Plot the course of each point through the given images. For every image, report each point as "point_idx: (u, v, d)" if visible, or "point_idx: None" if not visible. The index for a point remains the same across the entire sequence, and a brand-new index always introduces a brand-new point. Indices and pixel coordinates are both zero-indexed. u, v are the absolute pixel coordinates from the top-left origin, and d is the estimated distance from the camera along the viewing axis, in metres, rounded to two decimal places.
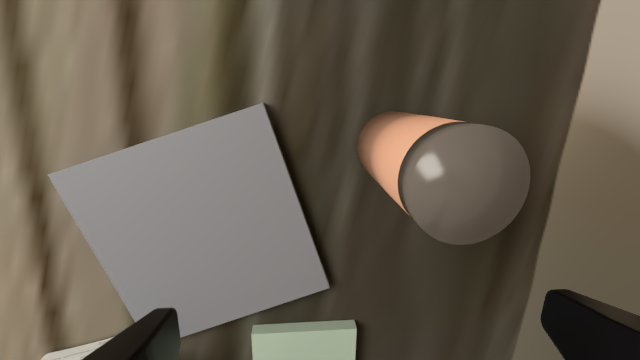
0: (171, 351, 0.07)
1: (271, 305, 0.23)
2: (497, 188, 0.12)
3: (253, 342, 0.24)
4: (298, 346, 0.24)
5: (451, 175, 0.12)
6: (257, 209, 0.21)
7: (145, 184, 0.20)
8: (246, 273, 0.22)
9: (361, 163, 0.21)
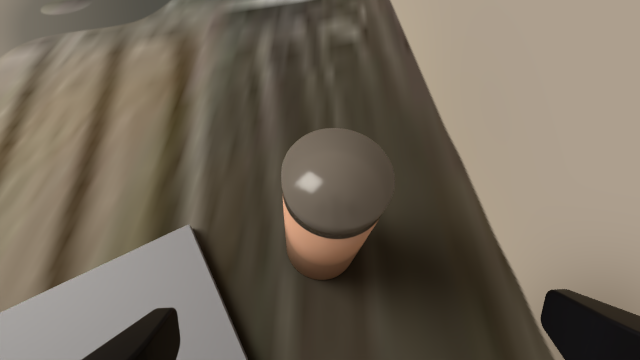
0: (171, 351, 0.07)
1: None
2: (363, 170, 0.13)
3: None
4: None
5: (316, 166, 0.13)
6: (180, 340, 0.18)
7: (49, 333, 0.17)
8: None
9: (293, 264, 0.21)
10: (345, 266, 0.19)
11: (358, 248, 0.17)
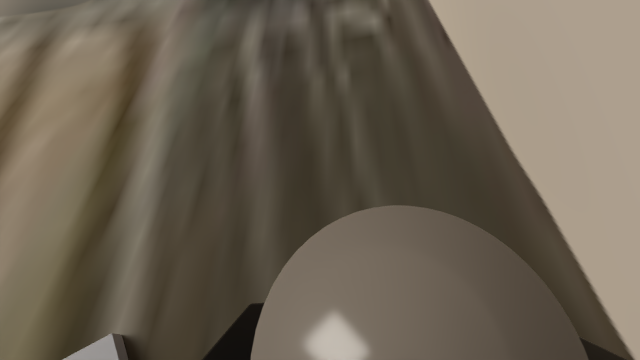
0: None
1: None
2: (496, 346, 0.04)
3: None
4: None
5: (358, 337, 0.04)
6: None
7: None
8: None
9: None
10: None
11: None
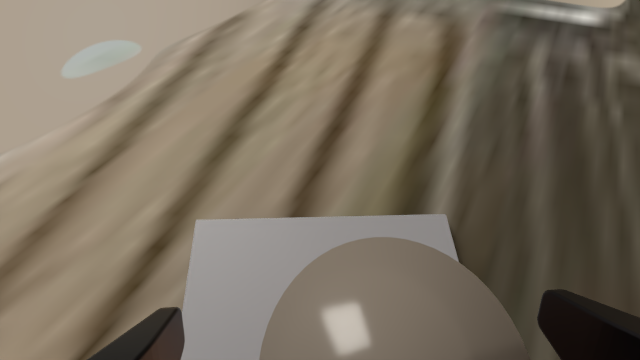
0: (176, 351, 0.07)
1: None
2: (458, 358, 0.06)
3: None
4: None
5: (345, 350, 0.05)
6: None
7: (293, 262, 0.16)
8: None
9: None
10: None
11: None
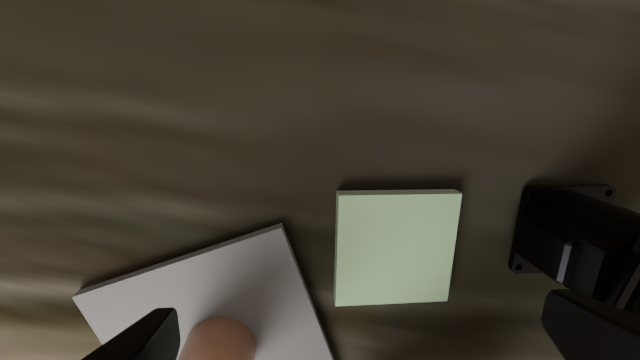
0: (171, 351, 0.07)
1: (301, 286, 0.21)
2: None
3: (345, 304, 0.22)
4: (357, 259, 0.21)
5: None
6: (186, 300, 0.21)
7: None
8: (261, 309, 0.21)
9: None
10: (237, 346, 0.20)
11: None
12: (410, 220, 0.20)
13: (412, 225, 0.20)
